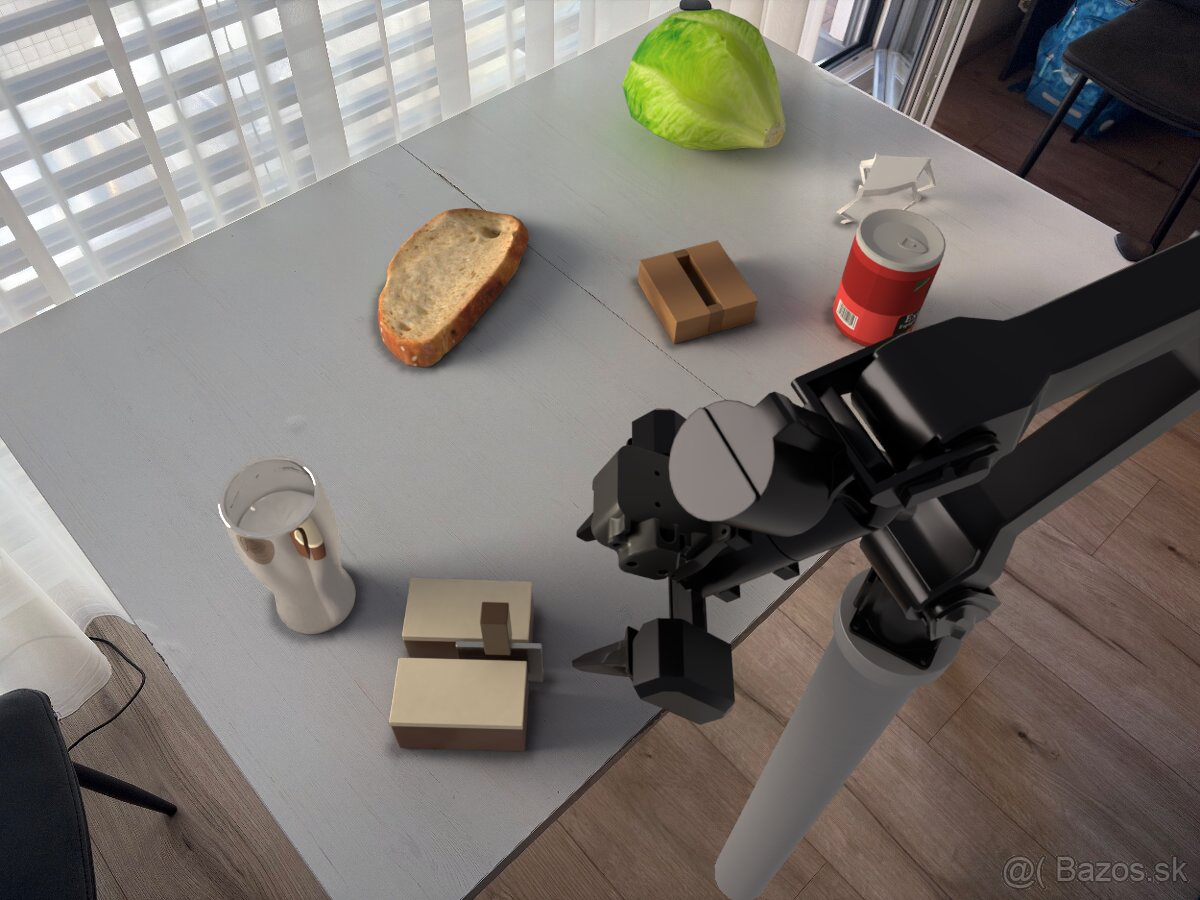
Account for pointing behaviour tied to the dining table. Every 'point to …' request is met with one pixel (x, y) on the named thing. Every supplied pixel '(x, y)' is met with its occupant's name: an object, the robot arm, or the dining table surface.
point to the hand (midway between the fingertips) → (578, 598)
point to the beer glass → (289, 540)
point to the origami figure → (891, 178)
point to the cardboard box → (696, 291)
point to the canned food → (887, 275)
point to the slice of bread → (447, 281)
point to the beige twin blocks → (460, 669)
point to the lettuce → (706, 83)
